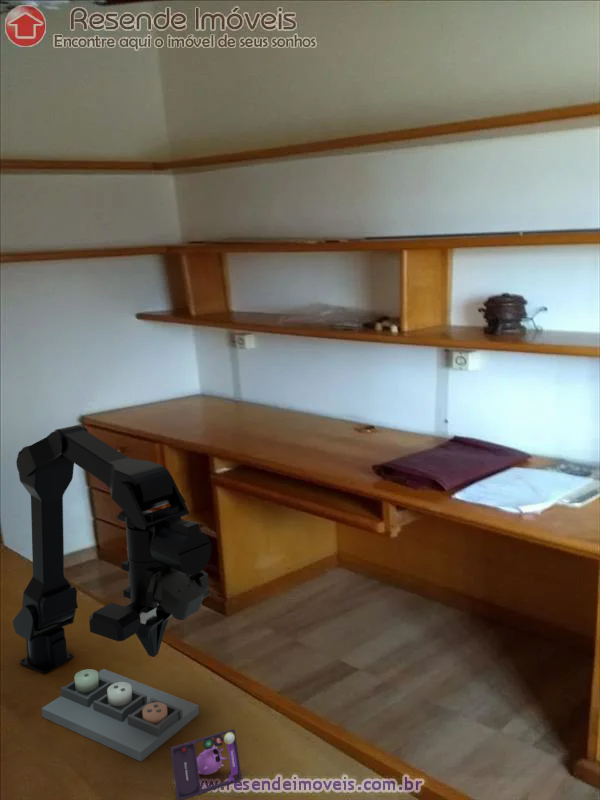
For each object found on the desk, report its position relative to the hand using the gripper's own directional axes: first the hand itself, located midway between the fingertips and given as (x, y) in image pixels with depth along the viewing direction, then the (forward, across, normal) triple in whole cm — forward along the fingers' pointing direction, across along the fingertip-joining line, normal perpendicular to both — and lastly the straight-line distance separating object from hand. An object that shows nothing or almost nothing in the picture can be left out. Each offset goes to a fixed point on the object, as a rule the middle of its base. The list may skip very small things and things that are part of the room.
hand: (153, 655), depth 115 cm
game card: (+13, -5, -13) cm, 19 cm away
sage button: (+9, 0, +14) cm, 17 cm away
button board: (+12, 0, +7) cm, 14 cm away
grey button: (+9, 0, +7) cm, 12 cm away
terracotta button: (+11, 0, 0) cm, 11 cm away
